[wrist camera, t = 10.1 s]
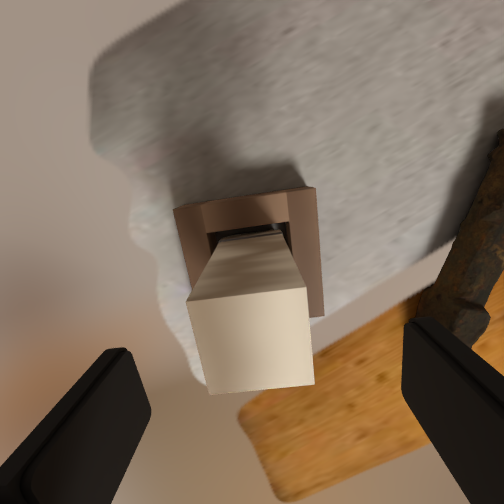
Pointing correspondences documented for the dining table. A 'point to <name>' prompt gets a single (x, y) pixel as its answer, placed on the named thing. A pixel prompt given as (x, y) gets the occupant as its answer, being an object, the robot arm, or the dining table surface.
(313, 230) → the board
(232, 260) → the peg
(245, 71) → the dining table surface
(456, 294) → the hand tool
